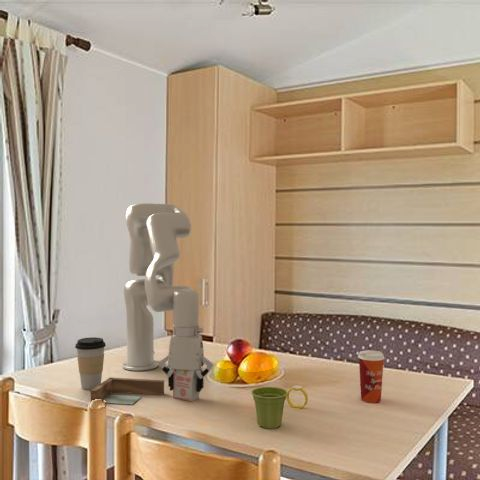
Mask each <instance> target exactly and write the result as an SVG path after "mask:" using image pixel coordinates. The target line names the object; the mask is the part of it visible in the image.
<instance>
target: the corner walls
mask: <svg viewBox="0 0 480 480" xmlns="http://www.w3.org/2000/svg"><path fill="white" fill-rule="evenodd" d="M113 391H115V392H113ZM111 392H112V393H121V392H131V393H130V394H138V393H143V394H144V395H156V394H159V396H163V395H164V394H165V380H164V379H163V380H162V379H147V378H145V379H143V378H126V377H124V378H123V377H122V378H121V377H109V378H107V379H106V380H104V381H103V382H101V384H100V385H98V386H97V387H95V388H94V389H90V402H91V401H92V400H95V399H103V400H105V401H106V403H107V404H108V403H115V404H114V405H123V404H130V405H129V406H134V403H135V402H136V401H137V402H138V401H139V400H140V399H142V396H141V395H139V396H137V395H121V394H112V393H111ZM110 393H111V394H110ZM109 394H110V395H109ZM143 394H142V395H143ZM107 395H108V396H107ZM106 396H107V397H106ZM105 397H106V398H105ZM137 402H136V403H137ZM106 403H105V404H106ZM136 403H135V404H136ZM108 405H109V404H108Z"/></svg>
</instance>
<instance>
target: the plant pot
mask: <svg viewBox="0 0 480 480" xmlns="http://www.w3.org/2000/svg"><path fill="white" fill-rule="evenodd" d="M287 394H288V390H287V389H285V388H282V387H276V386H261V387H260V386H259V387H257V388H253V389H252V390H251V395H252V398H253V400H254V407H255V413H256V414H255V415H256V421H257V426H259V427H262V428H263V429H267V430H268V429H269V430H270V429H277V428H278V427H281V426H282V422H283V414H284V406H285V401H286V400H287V399H286V396H287Z"/></svg>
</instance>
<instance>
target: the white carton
mask: <svg viewBox="0 0 480 480" xmlns="http://www.w3.org/2000/svg"><path fill="white" fill-rule="evenodd" d="M197 379H198V375H197V373H196V372H195V371H194V370H175V371H174V376H173V390H172V398H173V399H178V400H182V401H187V402H193V401H196V400H197V399H199V398H200V392H197Z"/></svg>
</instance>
